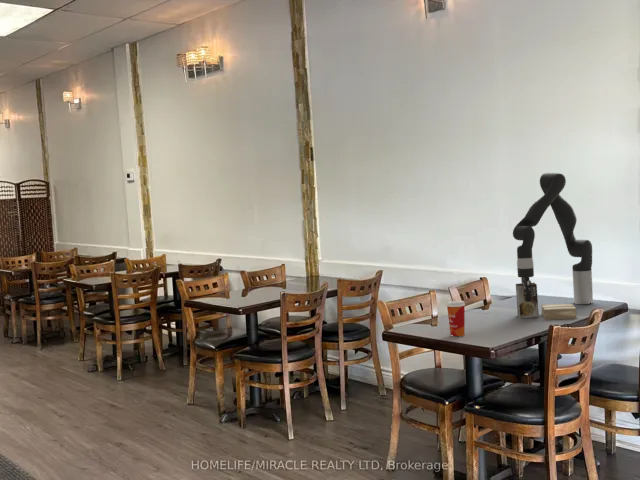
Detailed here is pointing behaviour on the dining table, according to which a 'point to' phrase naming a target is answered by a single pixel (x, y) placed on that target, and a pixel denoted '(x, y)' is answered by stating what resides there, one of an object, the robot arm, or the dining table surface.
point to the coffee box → (525, 307)
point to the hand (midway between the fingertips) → (527, 300)
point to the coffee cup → (456, 317)
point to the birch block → (558, 311)
